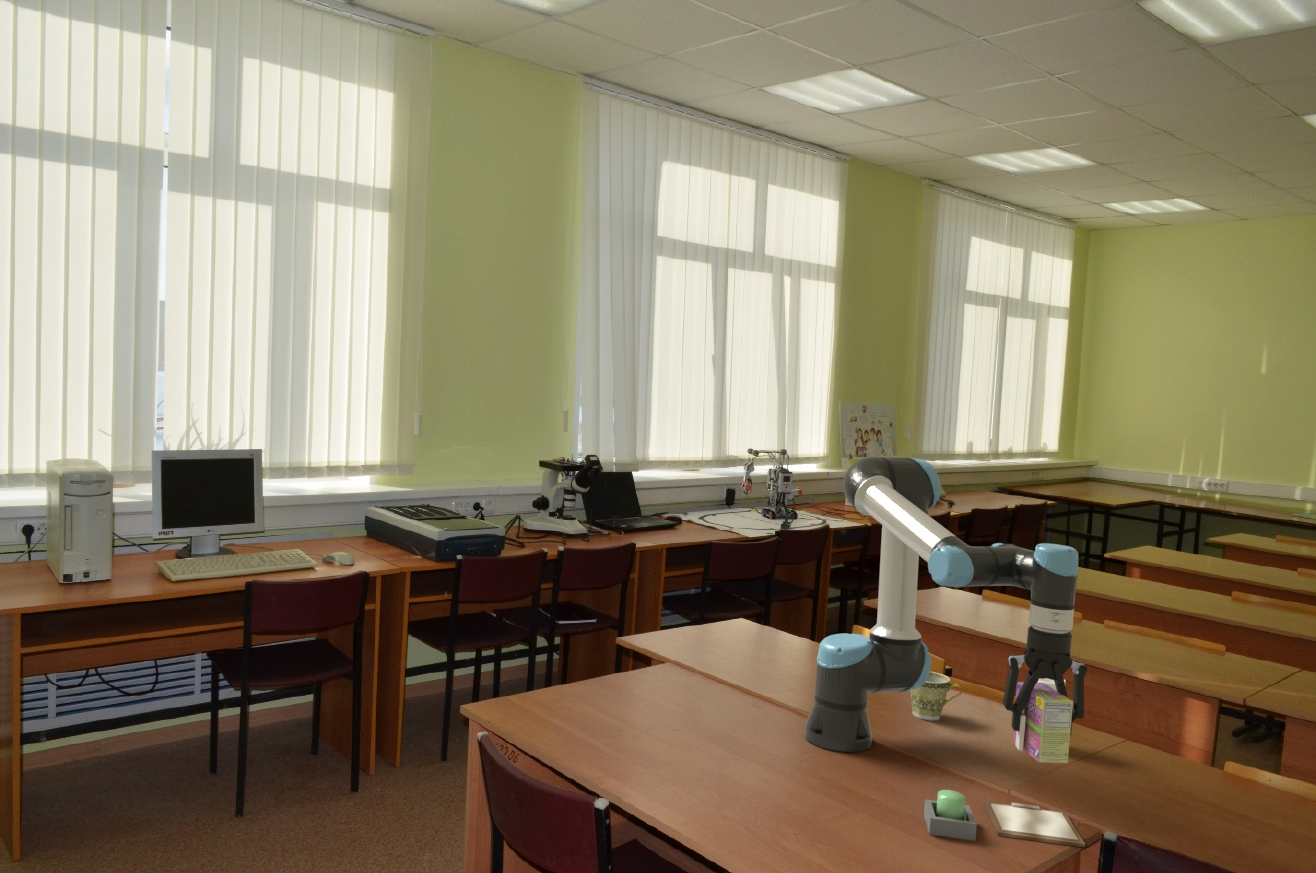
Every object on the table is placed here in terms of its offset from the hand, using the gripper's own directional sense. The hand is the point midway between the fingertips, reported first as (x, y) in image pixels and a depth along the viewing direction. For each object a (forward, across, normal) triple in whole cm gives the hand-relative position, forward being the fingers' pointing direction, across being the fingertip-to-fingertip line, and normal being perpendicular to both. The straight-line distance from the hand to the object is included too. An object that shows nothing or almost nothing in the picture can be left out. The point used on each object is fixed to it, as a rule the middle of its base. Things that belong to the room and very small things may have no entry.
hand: (1039, 750), depth 172 cm
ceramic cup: (+14, -11, +56) cm, 59 cm away
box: (+1, 0, 0) cm, 1 cm away
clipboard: (+14, 0, 0) cm, 14 cm away
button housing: (+14, -16, -6) cm, 22 cm away
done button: (+13, -16, -6) cm, 21 cm away
